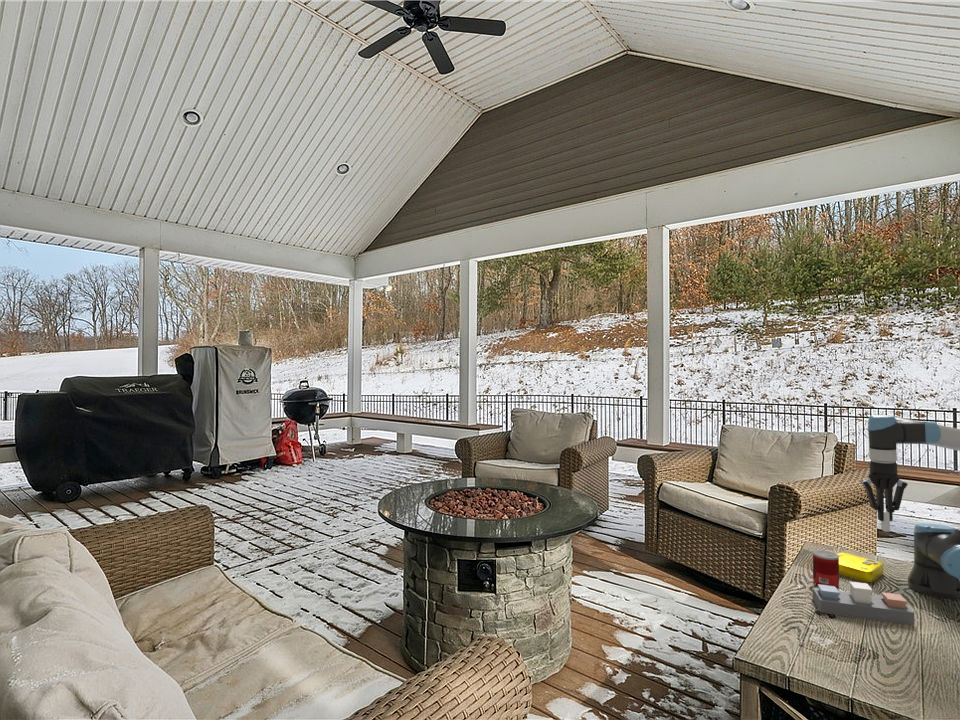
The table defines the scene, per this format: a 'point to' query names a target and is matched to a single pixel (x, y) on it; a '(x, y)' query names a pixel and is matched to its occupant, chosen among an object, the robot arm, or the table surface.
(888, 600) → the terracotta key
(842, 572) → the element tile
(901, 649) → the table surface
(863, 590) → the white key
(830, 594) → the slate blue key
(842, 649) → the table surface
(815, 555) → the canned food
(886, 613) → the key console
